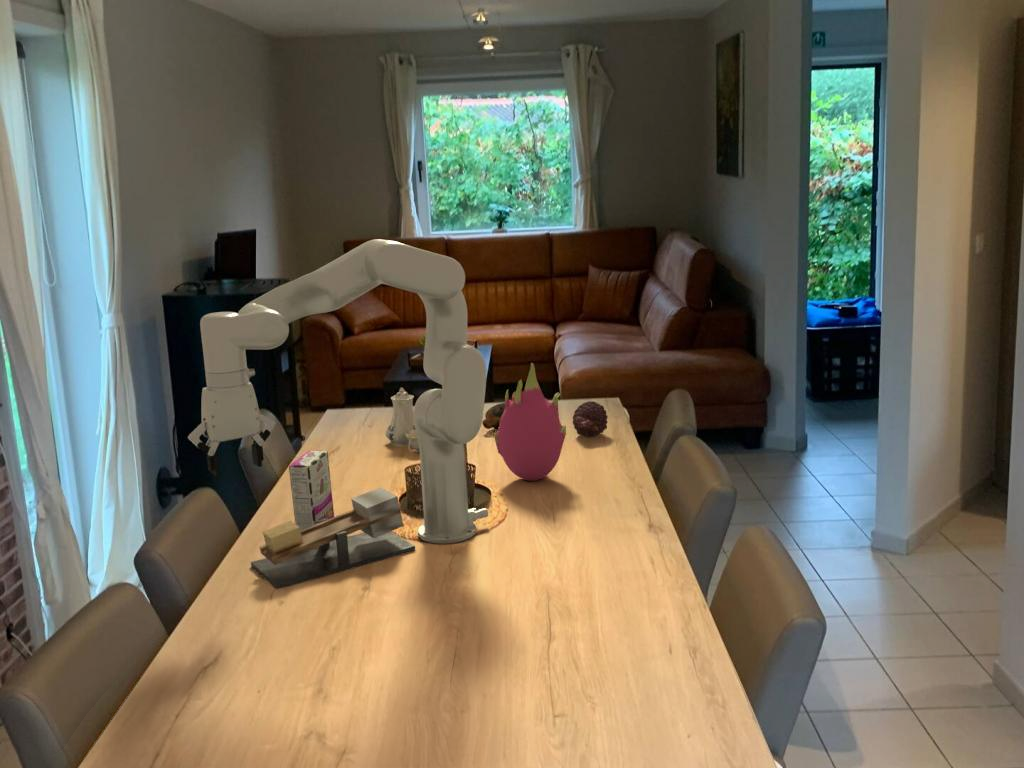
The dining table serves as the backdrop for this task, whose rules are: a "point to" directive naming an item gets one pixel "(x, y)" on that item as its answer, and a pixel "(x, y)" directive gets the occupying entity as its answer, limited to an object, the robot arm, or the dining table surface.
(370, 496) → the beam
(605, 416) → the pine cone
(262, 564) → the stand
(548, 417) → the pink dragon fruit
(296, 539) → the brass block
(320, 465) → the candy bar box
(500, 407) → the decorative turtle
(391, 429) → the chinaware
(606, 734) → the dining table surface
